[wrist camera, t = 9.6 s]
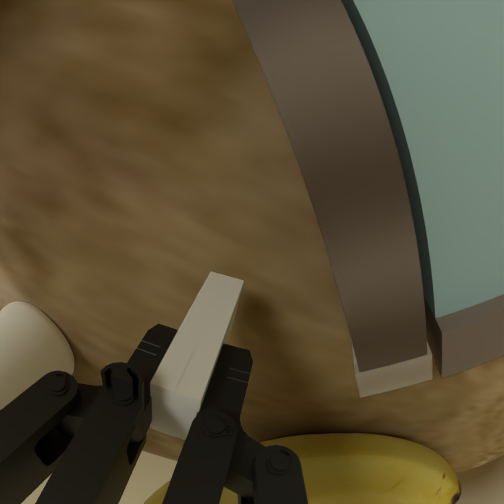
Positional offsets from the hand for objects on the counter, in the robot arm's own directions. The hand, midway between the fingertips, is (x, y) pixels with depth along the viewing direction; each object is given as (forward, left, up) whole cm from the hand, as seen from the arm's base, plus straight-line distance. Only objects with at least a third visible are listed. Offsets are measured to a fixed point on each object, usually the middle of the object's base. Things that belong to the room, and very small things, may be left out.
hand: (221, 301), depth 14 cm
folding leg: (-4, +7, -2) cm, 8 cm away
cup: (+3, -19, -2) cm, 20 cm away
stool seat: (-4, +17, -2) cm, 18 cm away
